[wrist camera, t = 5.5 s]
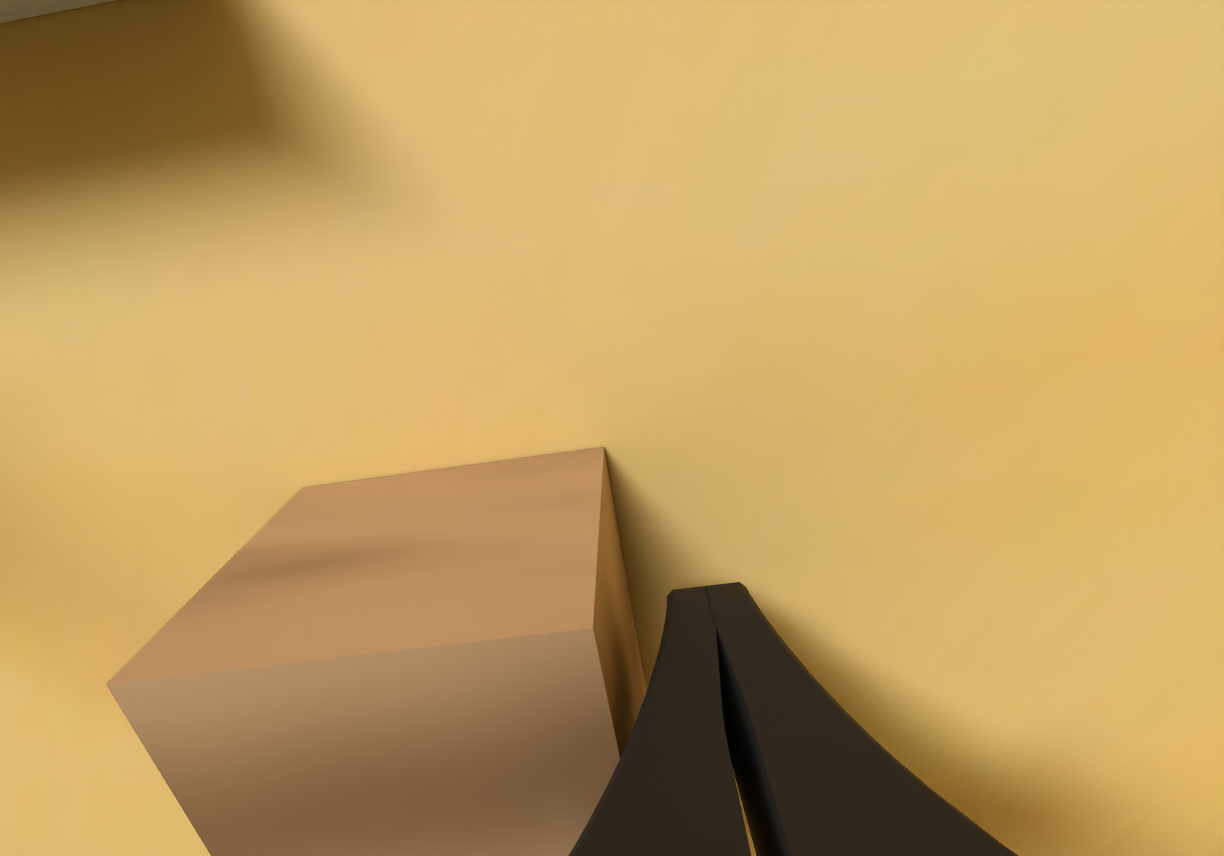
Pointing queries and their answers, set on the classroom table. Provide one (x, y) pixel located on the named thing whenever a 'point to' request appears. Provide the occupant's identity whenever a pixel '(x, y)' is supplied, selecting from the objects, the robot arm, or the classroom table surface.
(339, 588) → the walnut block
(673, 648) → the robot arm
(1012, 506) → the classroom table surface
